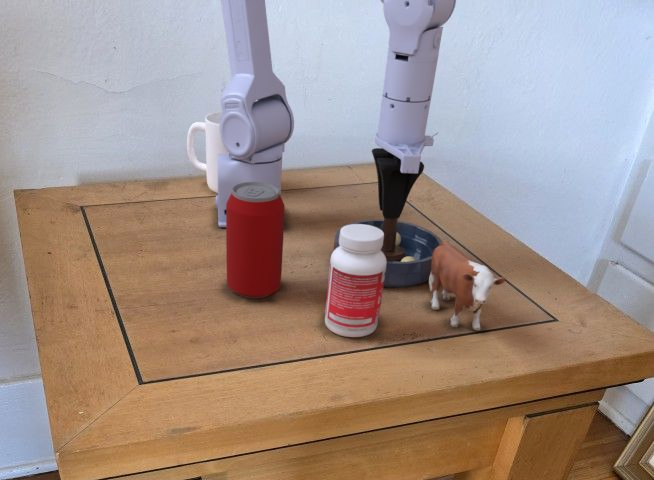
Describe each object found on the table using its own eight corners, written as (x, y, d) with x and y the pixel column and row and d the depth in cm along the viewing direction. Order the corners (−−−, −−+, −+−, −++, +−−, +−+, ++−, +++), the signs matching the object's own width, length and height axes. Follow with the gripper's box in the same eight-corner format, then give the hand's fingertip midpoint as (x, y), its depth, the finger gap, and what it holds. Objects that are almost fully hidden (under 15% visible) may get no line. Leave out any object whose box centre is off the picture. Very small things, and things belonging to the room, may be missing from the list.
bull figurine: (461, 349, 78) (478, 280, 73) (417, 294, 88) (429, 229, 82) (496, 345, 79) (516, 278, 74) (449, 292, 89) (464, 228, 83)
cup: (246, 199, 109) (247, 128, 102) (177, 187, 112) (173, 117, 105) (265, 183, 115) (267, 115, 108) (199, 171, 118) (197, 105, 111)
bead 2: (399, 277, 90) (402, 260, 88) (396, 269, 91) (399, 253, 90) (416, 277, 90) (419, 260, 89) (413, 269, 92) (416, 253, 90)
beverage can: (289, 284, 88) (295, 186, 80) (266, 306, 84) (269, 205, 75) (241, 272, 90) (242, 175, 82) (216, 293, 86) (215, 193, 77)
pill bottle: (383, 337, 79) (399, 242, 72) (332, 341, 78) (343, 245, 71) (366, 311, 84) (379, 219, 76) (318, 315, 83) (326, 221, 75)
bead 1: (383, 245, 95) (384, 229, 95) (385, 250, 97) (385, 234, 97) (400, 244, 95) (400, 228, 94) (401, 249, 97) (401, 233, 97)
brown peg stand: (369, 260, 93) (375, 182, 87) (371, 249, 96) (376, 173, 90) (404, 262, 92) (412, 183, 86) (404, 250, 96) (412, 174, 90)
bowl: (339, 289, 88) (342, 262, 86) (327, 243, 98) (329, 218, 96) (449, 290, 89) (455, 264, 87) (425, 245, 99) (430, 220, 97)
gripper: (455, 114, 77) (431, 236, 86) (426, 82, 87) (408, 194, 96) (392, 112, 76) (375, 235, 85) (371, 80, 87) (358, 193, 96)
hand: (389, 213), depth 91 cm, fingers closed on brown peg stand
